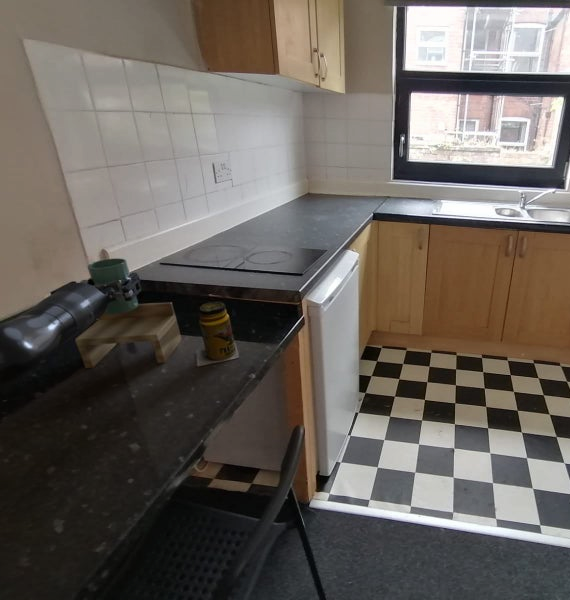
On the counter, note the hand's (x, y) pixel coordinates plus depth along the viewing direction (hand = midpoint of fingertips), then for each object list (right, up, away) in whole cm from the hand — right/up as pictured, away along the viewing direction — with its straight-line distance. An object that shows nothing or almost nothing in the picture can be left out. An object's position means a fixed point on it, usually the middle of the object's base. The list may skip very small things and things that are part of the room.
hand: (118, 277), depth 85 cm
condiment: (+19, -17, +5) cm, 26 cm away
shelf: (0, -17, +6) cm, 18 cm away
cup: (0, -6, 0) cm, 6 cm away
